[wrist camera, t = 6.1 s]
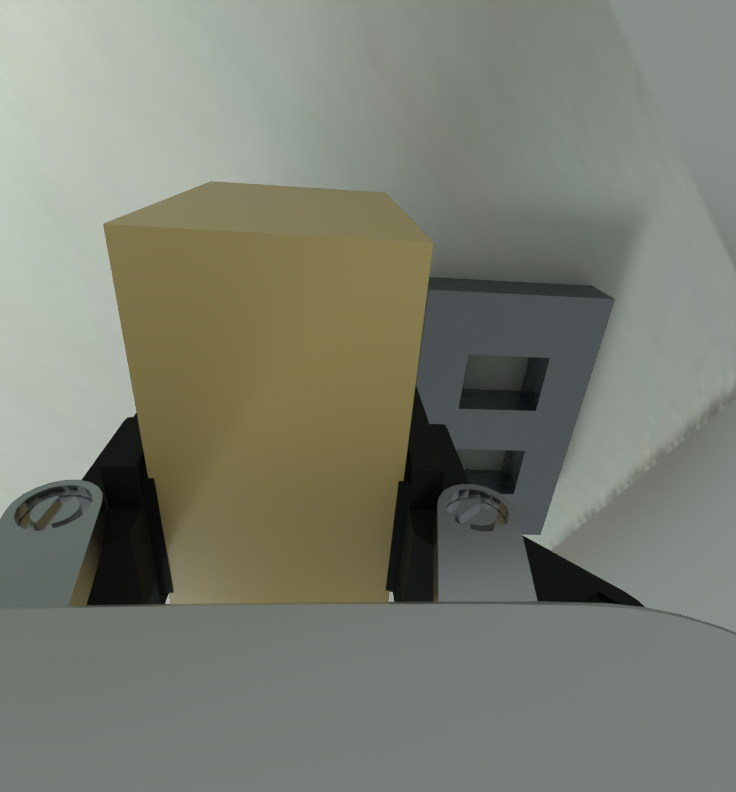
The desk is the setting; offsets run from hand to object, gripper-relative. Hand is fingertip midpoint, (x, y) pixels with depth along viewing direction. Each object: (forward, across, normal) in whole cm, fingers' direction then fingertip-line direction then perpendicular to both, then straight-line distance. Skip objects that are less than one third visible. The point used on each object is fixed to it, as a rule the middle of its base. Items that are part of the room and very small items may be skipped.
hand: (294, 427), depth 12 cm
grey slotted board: (+22, -13, +12) cm, 28 cm away
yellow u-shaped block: (+2, 0, 0) cm, 2 cm away
